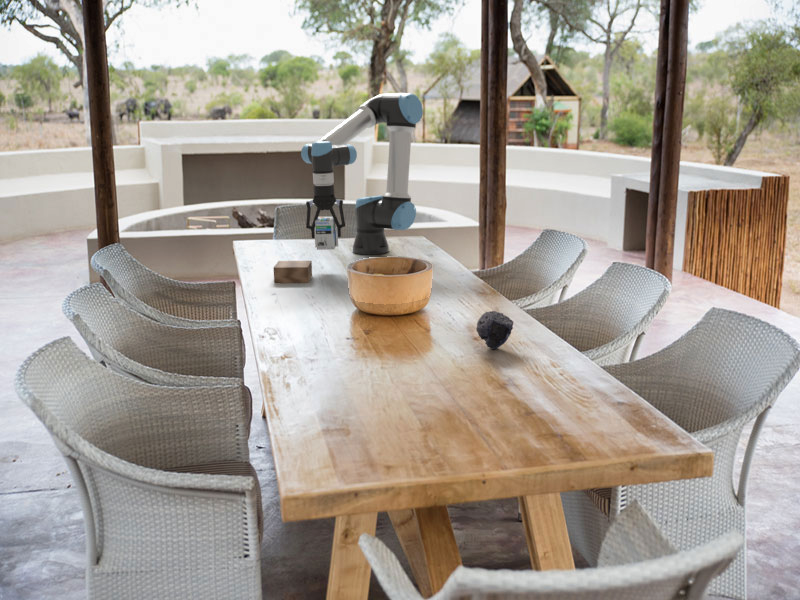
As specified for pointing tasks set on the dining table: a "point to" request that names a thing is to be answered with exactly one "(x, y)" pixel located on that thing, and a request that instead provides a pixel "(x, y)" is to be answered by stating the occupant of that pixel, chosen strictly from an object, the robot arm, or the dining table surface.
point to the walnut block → (292, 271)
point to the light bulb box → (325, 233)
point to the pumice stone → (494, 328)
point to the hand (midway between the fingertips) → (326, 246)
